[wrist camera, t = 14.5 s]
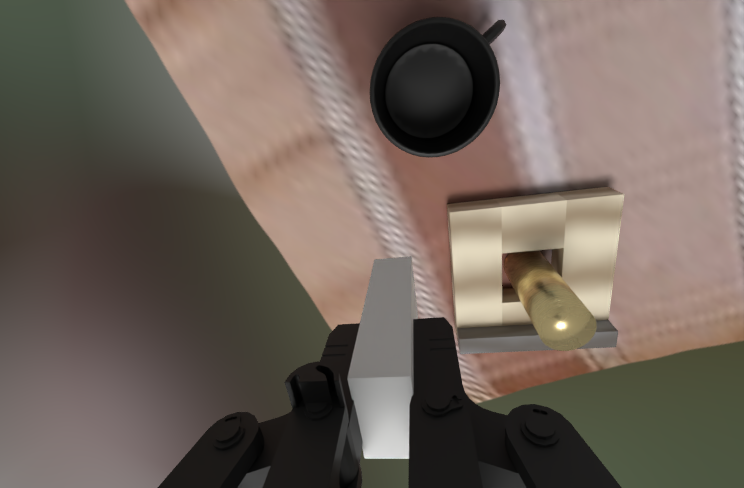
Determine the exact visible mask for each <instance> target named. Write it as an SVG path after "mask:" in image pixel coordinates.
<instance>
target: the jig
mask: <svg viewBox="0 0 744 488" xmlns="http://www.w3.org/2000/svg"><path fill="white" fill-rule="evenodd" d="M623 200H624V194H623V193H621V192H618V191H616V190H614V189H612V188H610V187H600V188H591V189H581V190H572V191H563V192H554V193H545V194H535V195H526V196H517V197H508V198H498V199H489V200H480V201H471V202H462V203H452V204H447V214H448V229H449V244H450V259H451V274H452V288H453V303H454V318H455V329H456V335H457V340H458V345H459V351H460V354H470V353H493V352H516V351H538V350H555V349H552V348H550V347H548V346H546V345H545V344H544V343H543V342H542V340H541V339H540V337H539V335H538V333H537V331H536V329H535V327H534V325H533V324H532V322H531V320H530V318H529V316H528V314H527V312H526V310H525V309H524V307H523V305H522V303H521V301H520V299H519V297H518V295H517V294H516V292H515V290H514V288H507V289H502V253H512V252H524V251H536V250H547V249H552V262H551V265H552V267H553V268H554V269H555V270H556V271H557V273H558V274H559V275H560V276H561V277H562V279H563V280H564V281H565V282H566V283H567V285H568V286H569V287H570V288H571V289H572V291H573V292H574V293H575V294H576V295H577V297H578V298H579V299H580V300H581V301H582V303H583V304H584V305H585V306H586V307H587V309H588V310H589V311H590V312H591V313H592V315H593V316H594V318H595V320H596V324H597V328H596V332H595V334H594V336H593V337H592V339H591V340H590V341H589V342H588V343H586V344H585V345H584V346H582V347H580V348H577V349H584V348H606V347H616V344H617V337H618V330H617V329H616V328H615V327H614V326H613V325H612V324H611V323H610V321H609V320H608V318H609V310H610V302H611V294H612V287H613V279H614V271H615V263H616V255H617V247H618V240H619V232H620V224H621V216H622V208H623Z"/></svg>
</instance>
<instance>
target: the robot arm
mask: <svg viewBox="0 0 744 488" xmlns="http://www.w3.org/2000/svg"><path fill="white" fill-rule="evenodd" d="M285 385H286V388H287V392H288V394H289V398H290V401H291V405H292V408H293V409H292V411H291V412H290V413H288V414H286V415H284V416H281V417H278V418H275V419H271V420H268V421H265V422H261V423H258V421H257V419H256V418H255V416H254V415H252V414H250V413H248V412H237V413H233V414H230V415H227V416H225V417H224V418H222V419H220V420H218V421H217V422H216V423H215V424H213V425H212V426H211V427H210V428H209V429H208V430H207V431H206V432H205V434H204V435H203V436H202V437H201V438H200V439H199V440H198V442H197V443H196V444H195V445H194V446H193V447H192V449H191V450H190V451H189V452H188V453H187V454H186V455H185V457H184V458H183V459H182V460H181V461H180V462H179V464H178V465H177V466H176V467H175V468H174V469H173V471H172V472H171V473H170V474H169V475H168V476H167V478H166V479H165V480H164V481H163V482H162V483H161V484H160V486H159V487H158V488H361V486H362V471H361V467H360V457H361V450H362V448H363V452H364V457H365V458H366V459H370V458H371V459H383V458H384V459H392V458H393V459H396V458H398V459H409V488H621V487H620V485H619V484H618V483H617V481H616V480H615V479H614V478H613V476H612V475H611V474H610V472H609V471H608V470H607V469H606V467H605V466H604V465H603V464H602V462H601V461H600V460H599V459H598V457H597V456H596V455H595V454H594V452H593V451H592V450H591V449H590V447H589V446H588V445H587V444H586V443H585V441H584V440H583V438H582V437H581V436H580V435H579V433H578V432H577V431H576V430H575V429H574V427H573V426H572V424H571V423H570V422H569V421H568V420H566V419H565V418H564V417H563V416H562V415H561V414H560V413H558V412H556V411H554V410H552V409H550V408H548V407H544V406H540V405H535V404H530V405H521V406H519V407H516V408H514V409H512V411H511V412H510V413H509V414H508V415H504V414H499V413H496V412H492V411H489V410H486V409H483V408H481V407H480V406H478V405H476V404H475V403H474V402H473V401H472V400H470V399H469V397H468V396H467V395H466V393H465V391H464V388H463V385H462V379H461V374H460V368H459V362H458V357H457V351H456V345H455V340H454V334H453V328H452V326H451V325H450V324H449V322H448V321H447V320H446V319H445V318H444V317H442V318H425V319H418V311H417V302H416V294H415V285H414V276H413V267H412V258H411V256H410V257H399V258H387V259H376V260H374V264H373V269H372V273H371V277H370V282H369V286H368V290H367V295H366V299H365V304H364V308H363V312H362V317H361V321H360V323H359V324H342V325H338V326H337V327H336V328H335V329H334V330H333V331H332V332H331V333H330V334H329V337H328V340H327V342H326V347H325V348H324V351H323V354H322V357H321V360H320V362H313V363H308V364H306V365H304V366H301V367H299V368H298V369H296V370H295V371H294V372H292V373H291V374H290V375H289V377H288V378H287V380H286V381H285Z"/></svg>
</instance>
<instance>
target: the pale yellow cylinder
mask: <svg viewBox="0 0 744 488" xmlns="http://www.w3.org/2000/svg"><path fill="white" fill-rule="evenodd" d="M504 271H505V273H506V275H507V277H508V279H509V281H510V282H511V284H512V286H513V288H514V290H515V292H516V294H517V295H518V297H519V299H520V301H521V303H522V305H523V307H524V309H525V310H526V312H527V314H528V316H529V318H530V320H531V322H532V324H533V325H534V327H535V329H536V331H537V333H538V335H539V337H540V339H541V340H542V342H543V343H544V344H545V345H546V346H548V347H550V348H552V349H555V350H559V351H569V350H574V349H577V348H580V347H582V346H584V345H585V344H586V343H588V342H589V341H590V340H591V339H592V337H593V336H594V334H595V332H596V328H597V324H596V320H595V318H594V316H593V315H592V313H591V312H590V311H589V310H588V309H587V307H586V306H585V305H584V304H583V303H582V301H581V300H580V299H579V298H578V297H577V295H576V294H575V293H574V292H573V291H572V289H571V288H570V287H569V286H568V285H567V283H566V282H565V281H564V280H563V279H562V277H561V276H560V275H559V274H558V273H557V271H556V270H555V269H554V268H553V267H552V265H551V264H550V263H549V262H548V260H547V259H546V258H545V257H544V256H543V254H542V253H541V252H540V251H539V250H536V251H524V252H512V253H509V254H508V255H507V257H506V259H505V261H504Z"/></svg>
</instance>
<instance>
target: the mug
mask: <svg viewBox="0 0 744 488" xmlns="http://www.w3.org/2000/svg"><path fill="white" fill-rule="evenodd" d="M505 26H506V23H505V21H504V20H498V21H497V22H496V23H495V24H494V25H493V26H491V27H490V28H489V29H488V30H487V31H486V32H485V33H484V34H483V35H481V34H480V33H479V32H478V31H477V30H475V29H474V28H473V27H472V26H470V25H468V24H466V23H464V22H462V21H459V20H456V19H453V18H446V17H432V18H426V19H423V20H419V21H416V22H414V23H412V24H410V25H408V26H406V27H405V28H403V29H402V30H400V31H399V32H398V33H397V34H396V35H394V36H393V37H392V38H391V39H390V40H389V42H388V43H387V44H386V45H385V47H384V48H383V50H382V51H381V53H380V55H379V56H378V58H377V61H376V63H375V66H374V69H373V72H372V76H371V82H370V103H371V108H372V112H373V115H374V118H375V121H376V123H377V124H378V126H379V128H380V130H381V131H382V133H383V134H384V135H385V137H386V138H387V139H388V140H389V141H390V142H391V143H393V144H394V145H395V146H396V147H398V148H399V149H401V150H403V151H405V152H407V153H409V154H412V155H416V156H420V157H440V156H445V155H449V154H452V153H454V152H457V151H459V150H460V149H462V148H464V147H466V146H467V145H468V144H470V143H471V142H473V141H474V140H475V139H476V138H477V137H478V136H479V135H480V134H481V132H482V131H483V130H484V129H485V127H486V126H487V124H488V123H489V121H490V119H491V117H492V115H493V113H494V110H495V108H496V105H497V101H498V97H499V89H500V75H499V68H498V64H497V60H496V57H495V55H494V52H493V50H492V49H491V47H490V44H491V43H492V42H493V41H494V40H495V39H496V38H497V37H498V36H499V35H500V34H501V33H502V32H503V30H504V28H505Z"/></svg>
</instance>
